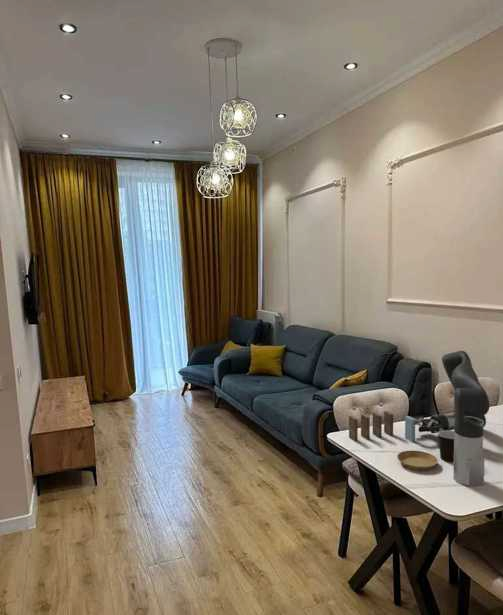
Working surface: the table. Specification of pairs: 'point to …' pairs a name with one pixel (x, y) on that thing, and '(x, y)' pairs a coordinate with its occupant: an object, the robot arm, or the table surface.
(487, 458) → the table surface
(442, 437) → the coffee mug
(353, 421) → the domino
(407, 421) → the domino
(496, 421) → the table surface
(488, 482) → the table surface
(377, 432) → the domino
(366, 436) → the domino
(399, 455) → the plant saucer
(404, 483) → the table surface
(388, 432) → the domino
